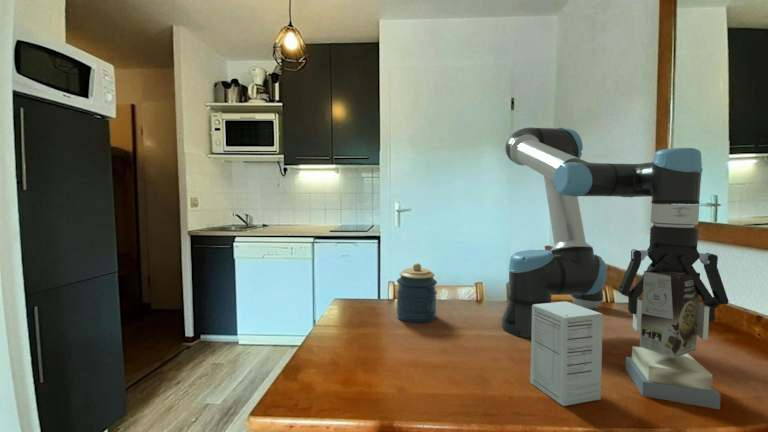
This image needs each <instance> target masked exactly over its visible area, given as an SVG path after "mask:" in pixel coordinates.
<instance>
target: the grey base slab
mask: <svg viewBox="0 0 768 432" xmlns="http://www.w3.org/2000/svg"><path fill="white" fill-rule="evenodd" d="M625 370H626V372H627V374H628V376H629V377H630V379H631V380H632V382H633V384H634V385H635V387H636V388H637V390H638V391H639V393H640V394H641V396H642V397H647V398H652V399H657V400H658V399H659V400H664V401H670V402H674V403H680V404H687V405H693V406H697V407H705V408H709V409H715V410H720V409H721V397H722V394H721V393H720V392H719V391H718V390H717V389H716V388H715V387H714V386H713V385H712V390H706V389H700V388H693V387H686V386H680V385H673V384H667V383H660V382H654V381H648V380H647V378H646V377H645V376H644V374H643V373H642V372H641V371H640V369H639V368H638V367H637V365H636V364H635V363H634V361H633V360H632V356H625Z"/></svg>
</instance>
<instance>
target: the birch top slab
mask: <svg viewBox="0 0 768 432" xmlns="http://www.w3.org/2000/svg"><path fill="white" fill-rule="evenodd" d="M631 357H632V360H633V361H634V363H635V364H636V365H637V367H638V368H639V369H640V371H641V372H642V373H643V374H644V376H645V377H646V378H647V380H648V381H654V382H660V383H667V384H673V385H680V386H686V387H693V388H700V389H706V390H712V386H713V374H712V373H711V371H708V369H706V368H705V366H704V365H702V364H700V363H699V361H697V360H696V359H695V358H694V357H693V356H692V355H690V354H689V353H687V354H684V355H681V356H679V357H676V358H671V357H668V356H665V355H662V354H659V353H657V352H654V351H651V350H648V349H645V348H642V347H640V346H635V345H634V346H632V348H631Z"/></svg>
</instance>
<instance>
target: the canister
mask: <svg viewBox="0 0 768 432" xmlns="http://www.w3.org/2000/svg"><path fill="white" fill-rule="evenodd" d="M399 276H400V277H399V278H398V279H397V280H396V282H397V284H398V288H397V290H396V293H397V296H396V317H397V318H398V319H399V320H400V321H404V322H406V323H407V322H408V323H417V324H418V323H419V324H423V323H429V322H432V321H434V320H436V318H437V317H436V316H437V293H438V292H437V290H436V285H437V284H438V282H437V280H436V279H434V277H435V273H434V272H432V271H431V270H430V269H428V268H423V267H422V265H421V264H420V263H419V262H418V263H417V262H416V263H414V264H413V266H412V267H410V268H405V269H403V271H401V272H399Z"/></svg>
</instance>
